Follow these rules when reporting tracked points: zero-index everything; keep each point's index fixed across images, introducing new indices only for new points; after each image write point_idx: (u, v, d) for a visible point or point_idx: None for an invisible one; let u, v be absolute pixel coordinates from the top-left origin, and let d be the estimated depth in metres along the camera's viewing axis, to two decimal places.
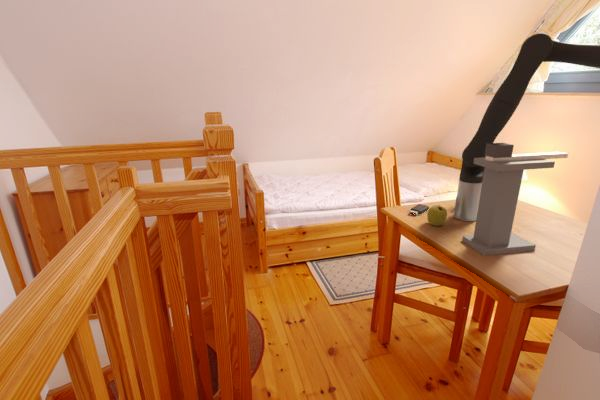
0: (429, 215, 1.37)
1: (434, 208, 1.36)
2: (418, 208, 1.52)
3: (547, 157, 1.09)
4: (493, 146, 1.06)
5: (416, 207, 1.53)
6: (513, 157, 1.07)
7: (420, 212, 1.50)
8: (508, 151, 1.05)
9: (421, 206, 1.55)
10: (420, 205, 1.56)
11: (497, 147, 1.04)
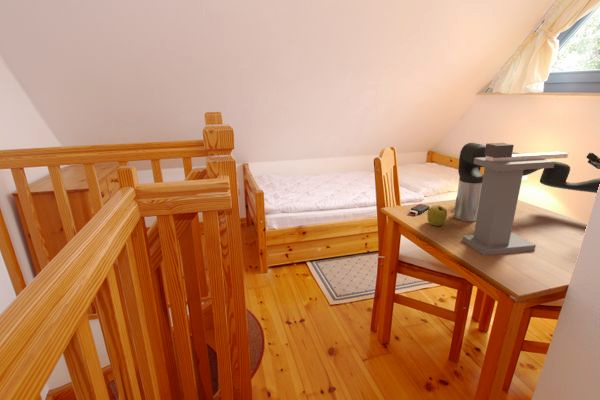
0: (429, 215, 1.37)
1: (434, 208, 1.36)
2: (418, 208, 1.52)
3: (547, 157, 1.09)
4: (493, 146, 1.06)
5: (416, 207, 1.54)
6: (513, 157, 1.07)
7: (420, 212, 1.50)
8: (508, 151, 1.05)
9: (422, 205, 1.55)
10: (421, 205, 1.56)
11: (497, 147, 1.04)
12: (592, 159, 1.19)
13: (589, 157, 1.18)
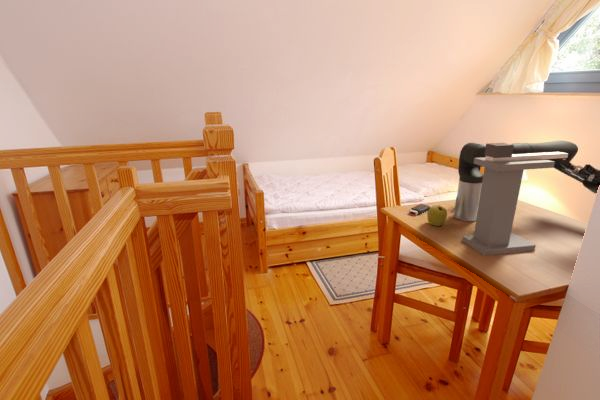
0: (429, 215, 1.37)
1: (434, 208, 1.36)
2: (418, 208, 1.52)
3: (547, 157, 1.09)
4: (493, 146, 1.06)
5: (417, 207, 1.54)
6: (513, 157, 1.07)
7: (420, 212, 1.50)
8: (508, 151, 1.05)
9: (422, 205, 1.55)
10: (421, 205, 1.56)
11: (497, 147, 1.04)
12: (566, 166, 1.17)
13: (563, 164, 1.17)
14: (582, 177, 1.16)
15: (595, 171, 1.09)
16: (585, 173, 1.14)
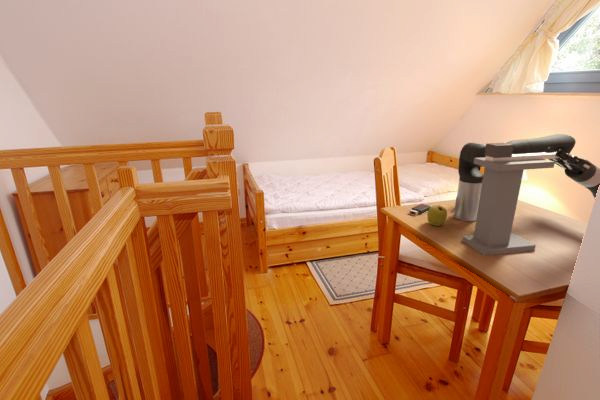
0: (429, 215, 1.37)
1: (434, 208, 1.36)
2: (419, 208, 1.53)
3: (547, 157, 1.09)
4: (493, 146, 1.06)
5: (417, 207, 1.54)
6: (513, 157, 1.07)
7: (420, 211, 1.50)
8: (508, 151, 1.05)
9: (423, 205, 1.55)
10: (422, 205, 1.56)
11: (497, 147, 1.04)
12: None
13: None
14: (565, 166, 1.14)
15: (567, 156, 1.09)
16: (564, 162, 1.13)
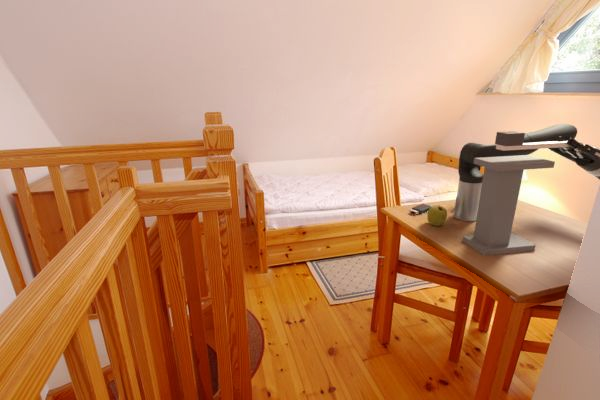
0: (429, 215, 1.37)
1: (434, 208, 1.36)
2: (419, 207, 1.53)
3: (558, 145, 1.08)
4: (504, 134, 1.05)
5: (418, 206, 1.54)
6: (524, 145, 1.06)
7: (421, 211, 1.50)
8: (519, 139, 1.04)
9: (424, 205, 1.55)
10: (423, 205, 1.56)
11: (508, 135, 1.03)
12: None
13: None
14: (576, 155, 1.13)
15: (579, 145, 1.08)
16: (575, 150, 1.12)
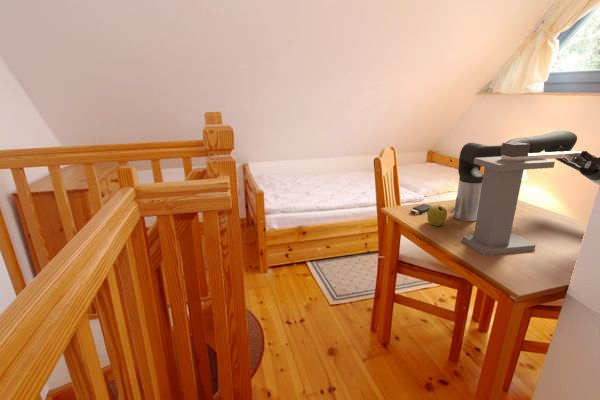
0: (429, 215, 1.37)
1: (434, 208, 1.36)
2: (420, 207, 1.53)
3: (563, 156, 1.10)
4: (510, 145, 1.06)
5: (419, 206, 1.54)
6: (529, 156, 1.08)
7: (421, 211, 1.51)
8: (525, 150, 1.06)
9: (425, 205, 1.55)
10: (424, 205, 1.56)
11: (514, 146, 1.05)
12: None
13: (559, 151, 1.16)
14: (579, 164, 1.15)
15: (592, 158, 1.08)
16: (582, 160, 1.13)
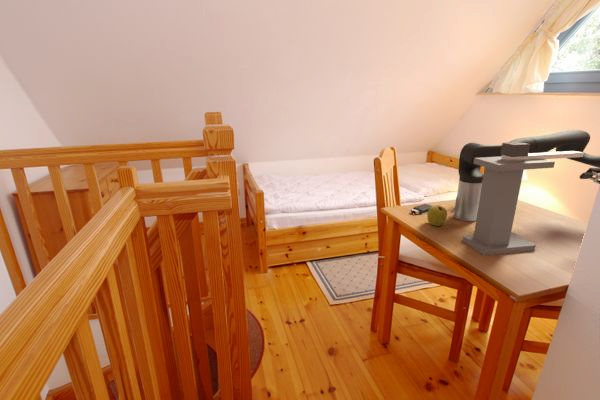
0: (429, 215, 1.37)
1: (434, 208, 1.36)
2: (420, 207, 1.53)
3: (563, 156, 1.10)
4: (510, 145, 1.06)
5: (419, 206, 1.54)
6: (529, 156, 1.08)
7: (421, 211, 1.51)
8: (525, 150, 1.06)
9: (426, 205, 1.55)
10: (425, 205, 1.56)
11: (514, 146, 1.05)
12: (586, 178, 1.14)
13: (582, 178, 1.14)
14: None
15: None
16: None
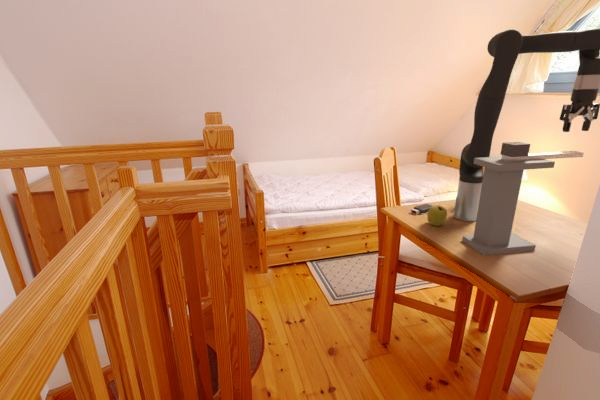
0: (429, 215, 1.37)
1: (434, 208, 1.36)
2: (421, 207, 1.53)
3: (563, 156, 1.10)
4: (510, 145, 1.06)
5: (420, 206, 1.54)
6: (529, 156, 1.08)
7: (422, 211, 1.51)
8: (525, 150, 1.06)
9: (426, 205, 1.55)
10: (426, 205, 1.56)
11: (514, 146, 1.05)
12: None
13: None
14: None
15: None
16: None
